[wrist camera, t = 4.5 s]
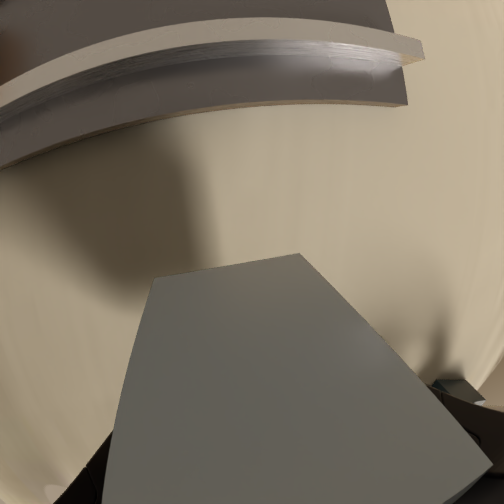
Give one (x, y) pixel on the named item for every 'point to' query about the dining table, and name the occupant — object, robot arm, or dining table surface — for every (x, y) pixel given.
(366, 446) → the block
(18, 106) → the rail plate
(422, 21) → the dining table surface
